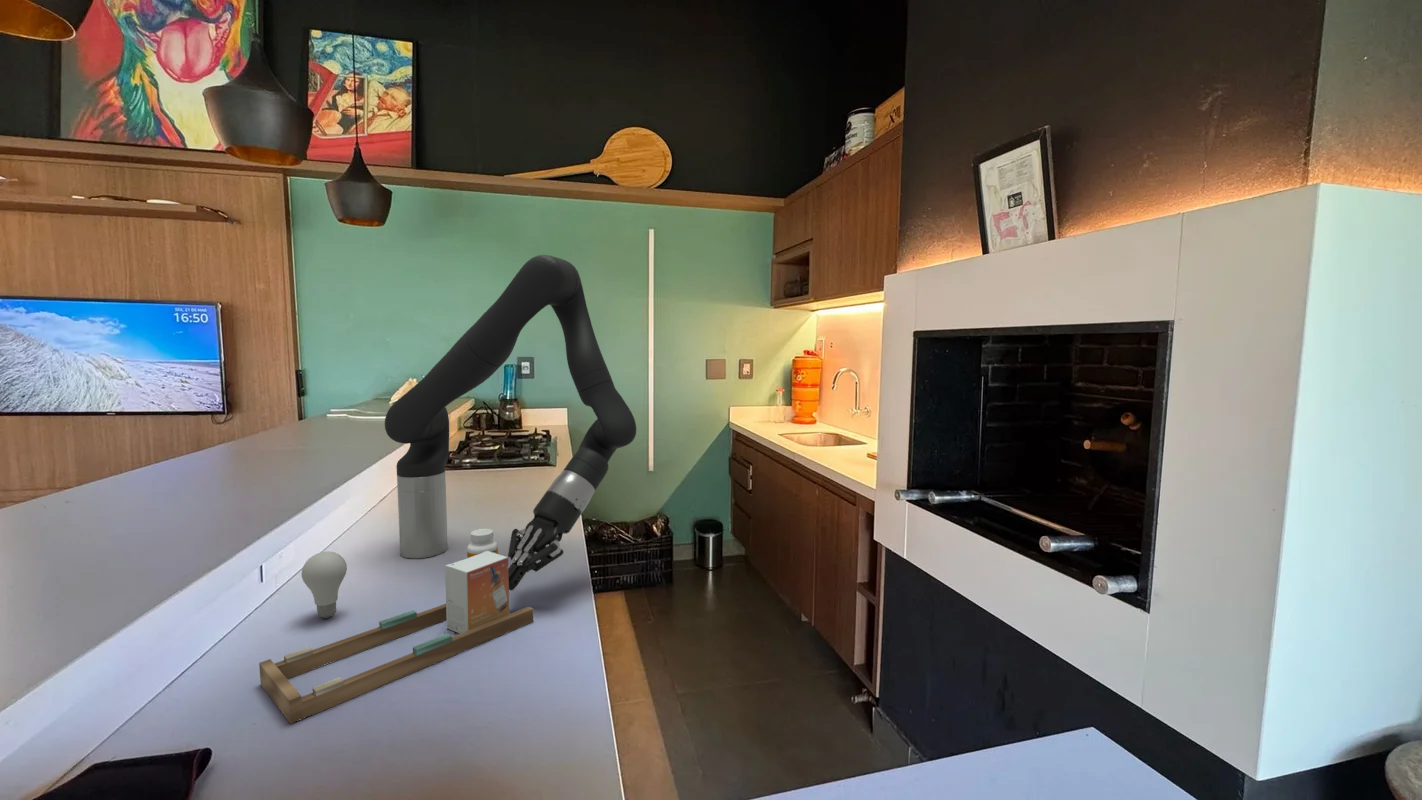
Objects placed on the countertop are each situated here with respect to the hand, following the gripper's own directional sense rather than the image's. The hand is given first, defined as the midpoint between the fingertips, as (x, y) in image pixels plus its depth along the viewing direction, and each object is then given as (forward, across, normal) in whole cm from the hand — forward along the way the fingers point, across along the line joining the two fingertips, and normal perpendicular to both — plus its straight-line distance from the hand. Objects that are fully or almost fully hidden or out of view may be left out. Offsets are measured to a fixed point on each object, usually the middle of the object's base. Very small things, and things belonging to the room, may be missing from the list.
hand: (505, 587), depth 97 cm
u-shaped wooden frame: (+14, 0, -8) cm, 16 cm away
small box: (+7, 0, 0) cm, 7 cm away
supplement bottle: (0, -14, +6) cm, 16 cm away
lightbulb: (+17, -20, -11) cm, 29 cm away
